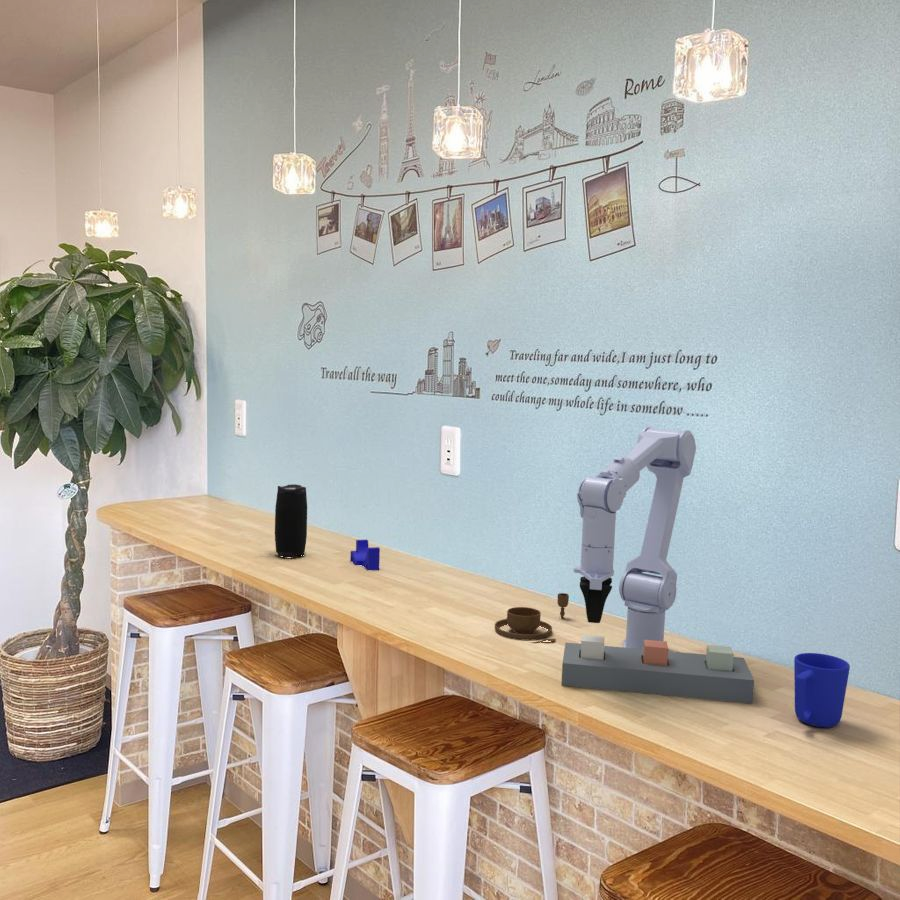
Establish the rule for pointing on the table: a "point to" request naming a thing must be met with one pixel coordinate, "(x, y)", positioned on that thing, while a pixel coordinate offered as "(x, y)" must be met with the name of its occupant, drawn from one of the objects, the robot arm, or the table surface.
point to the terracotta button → (655, 652)
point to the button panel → (657, 674)
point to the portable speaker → (291, 520)
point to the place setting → (529, 621)
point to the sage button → (719, 658)
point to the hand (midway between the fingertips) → (593, 619)
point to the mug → (820, 688)
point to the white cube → (592, 647)
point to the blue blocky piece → (366, 555)
